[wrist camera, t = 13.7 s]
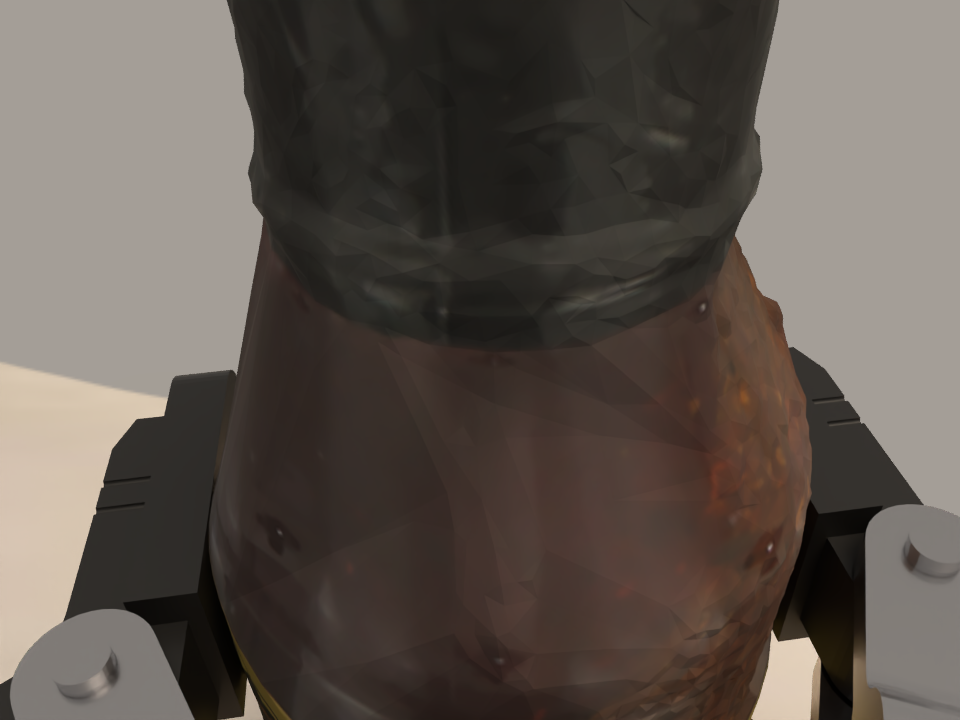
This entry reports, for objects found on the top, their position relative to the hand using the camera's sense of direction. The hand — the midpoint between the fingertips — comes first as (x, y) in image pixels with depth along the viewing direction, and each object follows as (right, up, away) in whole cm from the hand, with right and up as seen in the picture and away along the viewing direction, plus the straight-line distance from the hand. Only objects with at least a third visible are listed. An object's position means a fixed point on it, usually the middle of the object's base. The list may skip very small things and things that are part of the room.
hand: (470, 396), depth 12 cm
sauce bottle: (+1, -10, +5) cm, 11 cm away
